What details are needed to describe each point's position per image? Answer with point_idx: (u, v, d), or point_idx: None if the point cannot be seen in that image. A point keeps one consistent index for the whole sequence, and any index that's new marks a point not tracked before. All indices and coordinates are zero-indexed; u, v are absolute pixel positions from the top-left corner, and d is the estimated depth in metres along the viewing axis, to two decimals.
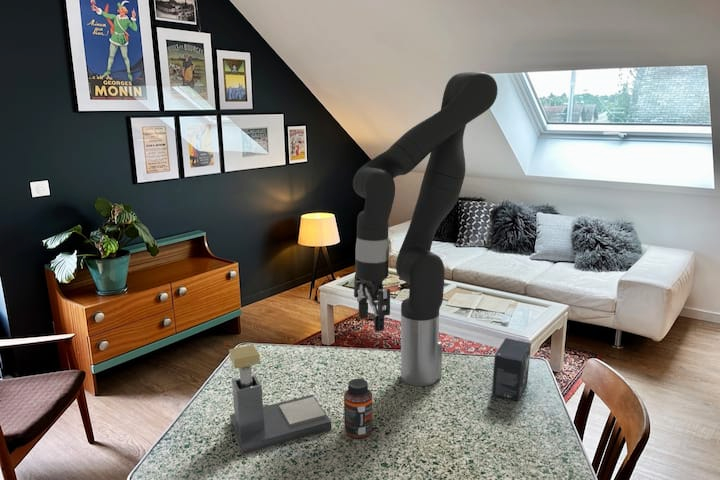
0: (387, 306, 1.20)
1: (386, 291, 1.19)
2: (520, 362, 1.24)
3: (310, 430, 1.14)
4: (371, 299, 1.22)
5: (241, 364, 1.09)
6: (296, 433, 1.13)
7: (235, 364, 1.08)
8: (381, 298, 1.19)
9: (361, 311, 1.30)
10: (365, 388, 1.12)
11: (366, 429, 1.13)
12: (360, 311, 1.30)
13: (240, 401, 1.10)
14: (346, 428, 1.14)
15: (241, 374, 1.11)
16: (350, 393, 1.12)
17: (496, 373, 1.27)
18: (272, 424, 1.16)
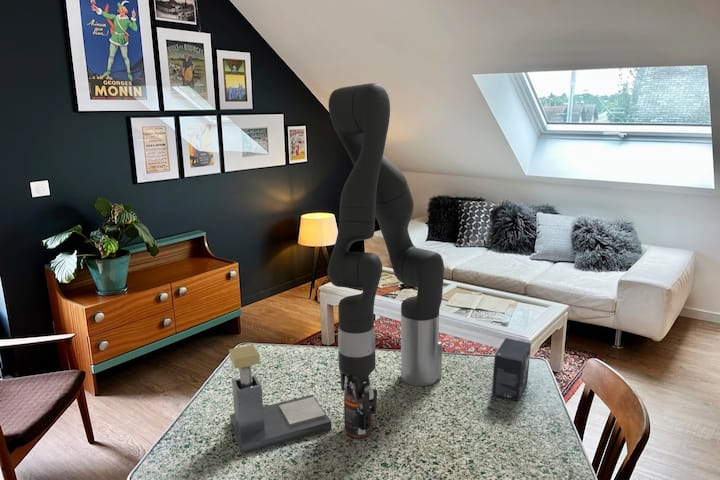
0: (373, 406, 1.09)
1: (373, 391, 1.07)
2: (520, 362, 1.24)
3: (310, 430, 1.14)
4: (356, 396, 1.10)
5: (241, 364, 1.09)
6: (296, 433, 1.13)
7: (235, 364, 1.08)
8: (367, 400, 1.07)
9: None
10: None
11: (366, 429, 1.13)
12: None
13: (240, 401, 1.10)
14: (346, 428, 1.14)
15: (241, 374, 1.11)
16: (350, 393, 1.12)
17: (496, 373, 1.27)
18: (272, 424, 1.16)
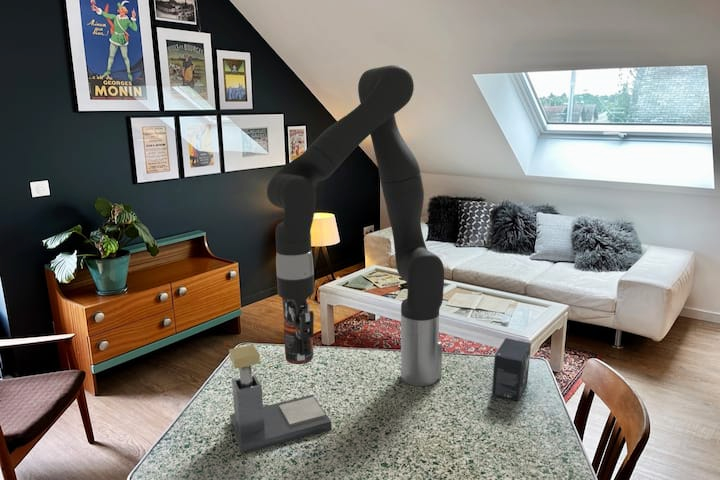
0: (310, 329, 1.09)
1: (309, 314, 1.08)
2: (520, 362, 1.24)
3: (310, 430, 1.14)
4: (294, 320, 1.11)
5: (241, 364, 1.09)
6: (296, 433, 1.13)
7: (235, 364, 1.08)
8: (303, 322, 1.07)
9: None
10: None
11: (305, 355, 1.13)
12: None
13: (240, 401, 1.10)
14: (286, 355, 1.15)
15: (241, 374, 1.11)
16: (289, 319, 1.13)
17: (496, 373, 1.27)
18: (272, 424, 1.16)
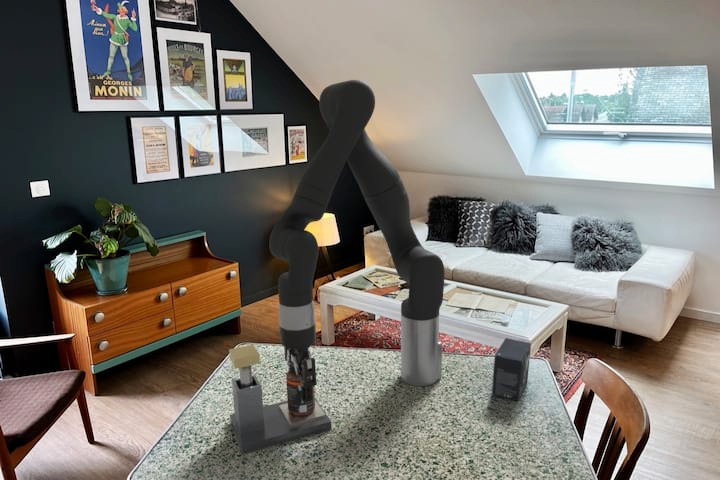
0: (313, 376, 1.11)
1: (311, 360, 1.10)
2: (520, 362, 1.24)
3: (310, 430, 1.14)
4: (297, 368, 1.13)
5: (241, 364, 1.09)
6: (296, 433, 1.13)
7: (235, 364, 1.08)
8: (305, 369, 1.10)
9: None
10: None
11: (307, 407, 1.17)
12: None
13: (240, 401, 1.10)
14: (288, 406, 1.18)
15: (241, 374, 1.11)
16: (291, 372, 1.16)
17: (496, 373, 1.27)
18: (272, 424, 1.16)
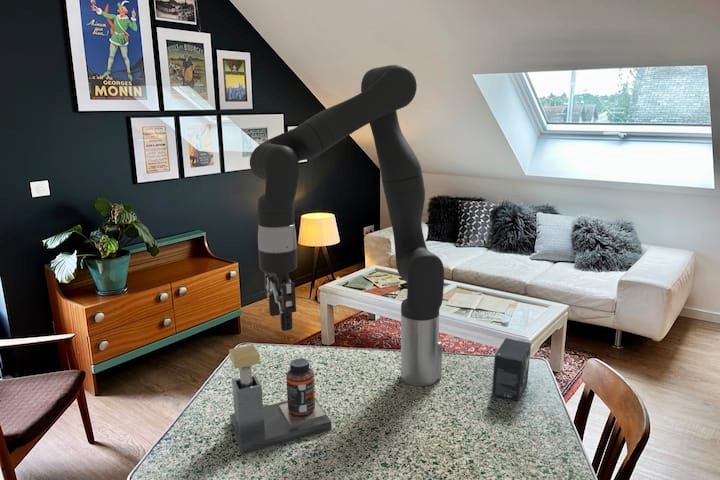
0: (292, 302, 1.06)
1: (290, 284, 1.05)
2: (520, 362, 1.24)
3: (310, 430, 1.14)
4: (276, 294, 1.07)
5: (241, 364, 1.09)
6: (296, 433, 1.13)
7: (235, 364, 1.08)
8: (284, 293, 1.04)
9: (272, 308, 1.16)
10: (306, 367, 1.16)
11: (307, 406, 1.17)
12: (271, 308, 1.15)
13: (240, 401, 1.10)
14: (288, 406, 1.18)
15: (241, 374, 1.11)
16: (291, 372, 1.16)
17: (496, 373, 1.27)
18: (272, 424, 1.16)
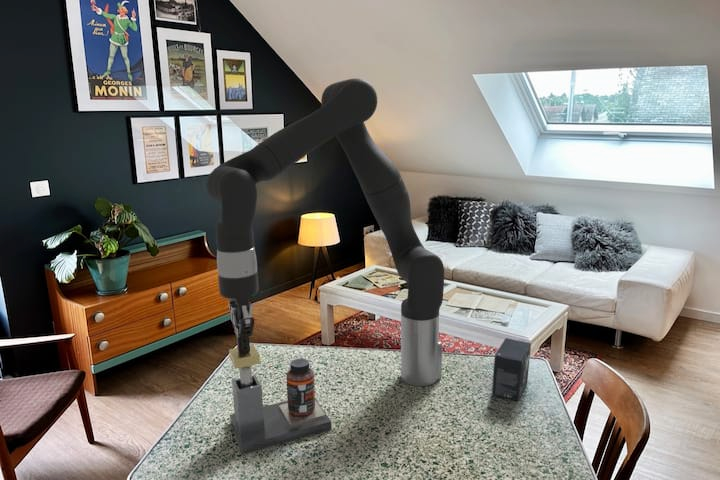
0: None
1: (250, 321, 1.04)
2: (520, 362, 1.24)
3: (310, 430, 1.14)
4: (235, 321, 1.07)
5: (241, 364, 1.09)
6: (296, 433, 1.13)
7: (235, 364, 1.08)
8: (242, 327, 1.04)
9: None
10: (306, 367, 1.16)
11: (307, 407, 1.17)
12: None
13: (240, 401, 1.10)
14: (288, 406, 1.18)
15: (241, 374, 1.11)
16: (292, 372, 1.16)
17: (496, 373, 1.27)
18: (272, 424, 1.16)
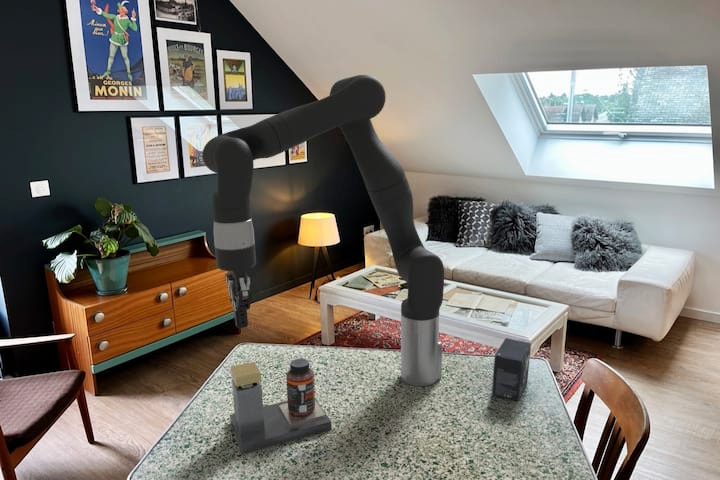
0: None
1: (247, 293, 1.02)
2: (520, 362, 1.24)
3: (310, 430, 1.14)
4: (232, 294, 1.05)
5: (242, 382, 1.10)
6: (296, 433, 1.13)
7: (237, 382, 1.09)
8: (240, 300, 1.02)
9: None
10: (306, 367, 1.16)
11: (307, 407, 1.17)
12: None
13: (240, 401, 1.10)
14: (288, 406, 1.18)
15: None
16: (291, 372, 1.16)
17: (496, 373, 1.27)
18: (272, 424, 1.16)
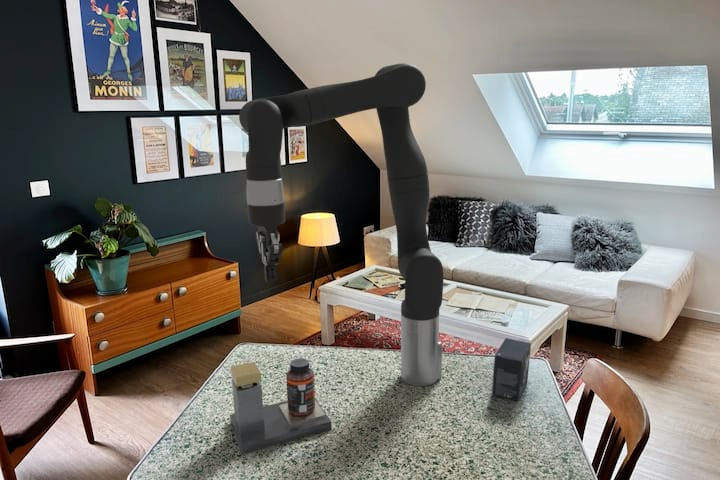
0: None
1: (278, 247, 1.09)
2: (520, 362, 1.24)
3: (310, 430, 1.14)
4: (263, 249, 1.12)
5: (242, 382, 1.10)
6: (296, 433, 1.13)
7: (237, 382, 1.09)
8: (271, 253, 1.09)
9: None
10: (306, 367, 1.16)
11: (307, 407, 1.17)
12: None
13: (240, 401, 1.10)
14: (288, 406, 1.18)
15: None
16: (291, 372, 1.16)
17: (496, 373, 1.27)
18: (272, 424, 1.16)
